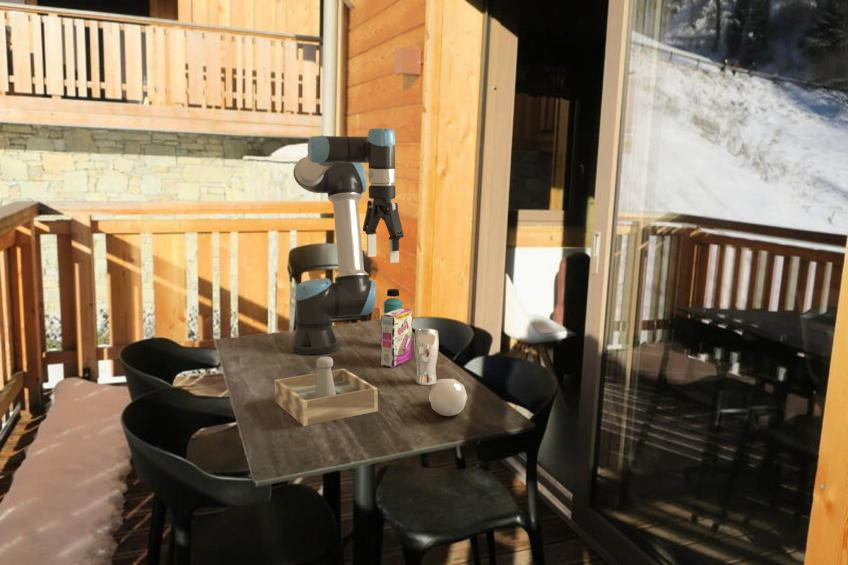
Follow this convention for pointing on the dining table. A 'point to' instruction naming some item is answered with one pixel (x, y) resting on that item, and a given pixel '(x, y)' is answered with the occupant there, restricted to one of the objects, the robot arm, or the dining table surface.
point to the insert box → (347, 402)
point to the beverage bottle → (392, 301)
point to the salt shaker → (324, 378)
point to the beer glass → (426, 355)
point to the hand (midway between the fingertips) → (382, 259)
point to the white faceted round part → (448, 397)
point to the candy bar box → (396, 337)
